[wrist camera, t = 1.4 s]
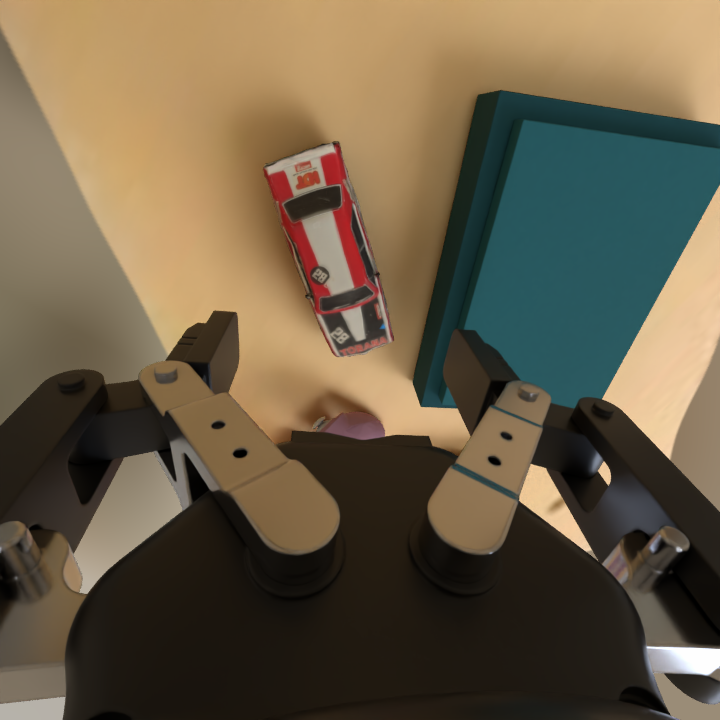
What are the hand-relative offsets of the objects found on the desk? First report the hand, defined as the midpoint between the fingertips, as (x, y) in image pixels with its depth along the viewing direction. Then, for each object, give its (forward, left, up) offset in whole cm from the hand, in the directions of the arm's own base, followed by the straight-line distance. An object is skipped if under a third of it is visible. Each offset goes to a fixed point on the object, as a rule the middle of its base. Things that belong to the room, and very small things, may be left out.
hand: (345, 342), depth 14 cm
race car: (0, 0, -11) cm, 11 cm away
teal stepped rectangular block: (0, +13, -11) cm, 17 cm away
